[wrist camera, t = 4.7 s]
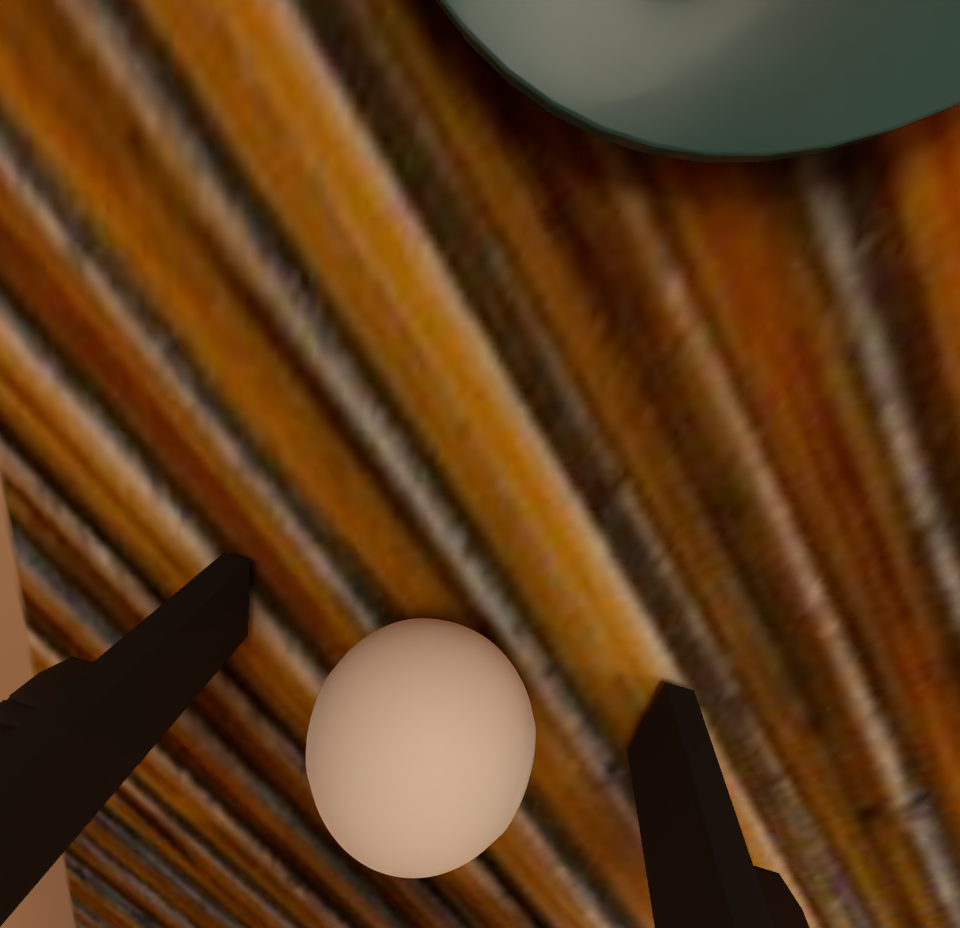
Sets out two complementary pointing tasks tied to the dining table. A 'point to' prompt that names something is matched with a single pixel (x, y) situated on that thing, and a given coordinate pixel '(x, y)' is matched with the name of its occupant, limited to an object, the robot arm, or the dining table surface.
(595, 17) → the lid
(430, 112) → the dining table surface
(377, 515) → the dining table surface
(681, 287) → the dining table surface
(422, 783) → the beige ball
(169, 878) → the dining table surface
